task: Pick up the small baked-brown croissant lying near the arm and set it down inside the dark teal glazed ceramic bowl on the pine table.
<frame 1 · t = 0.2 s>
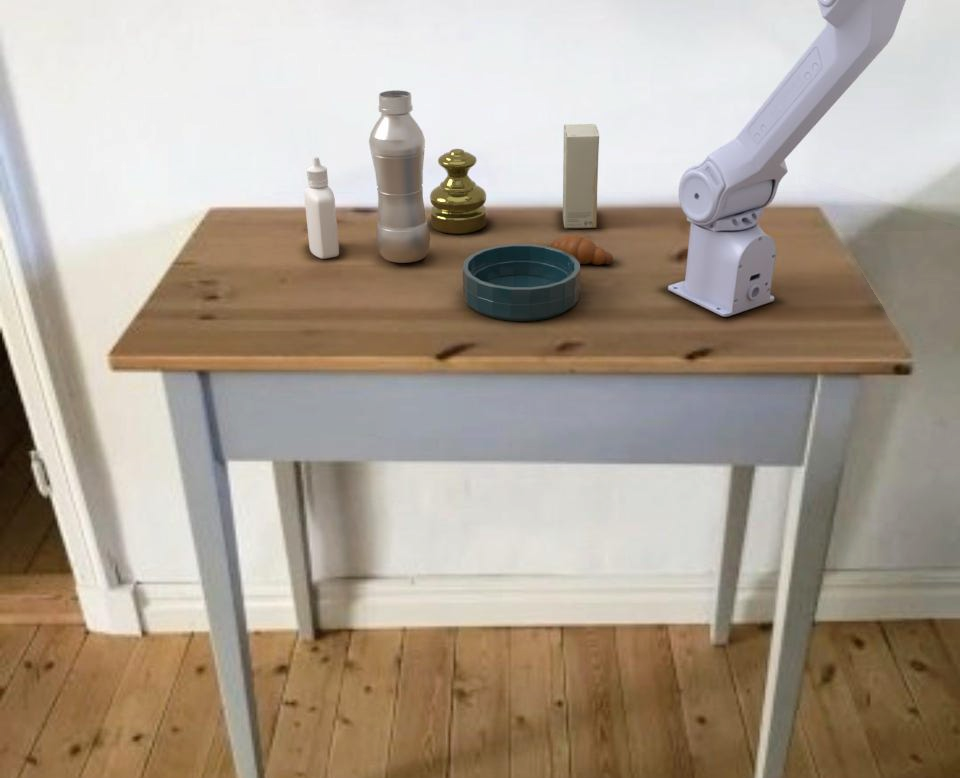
plastic bottle: (404, 260, 133), on the table
bowl: (520, 298, 123), on the table
cosmetic box: (578, 222, 144), on the table
croissant: (576, 261, 132), on the table
eye dropper bottle: (324, 253, 135), on the table
gold tiered knob: (458, 226, 143), on the table
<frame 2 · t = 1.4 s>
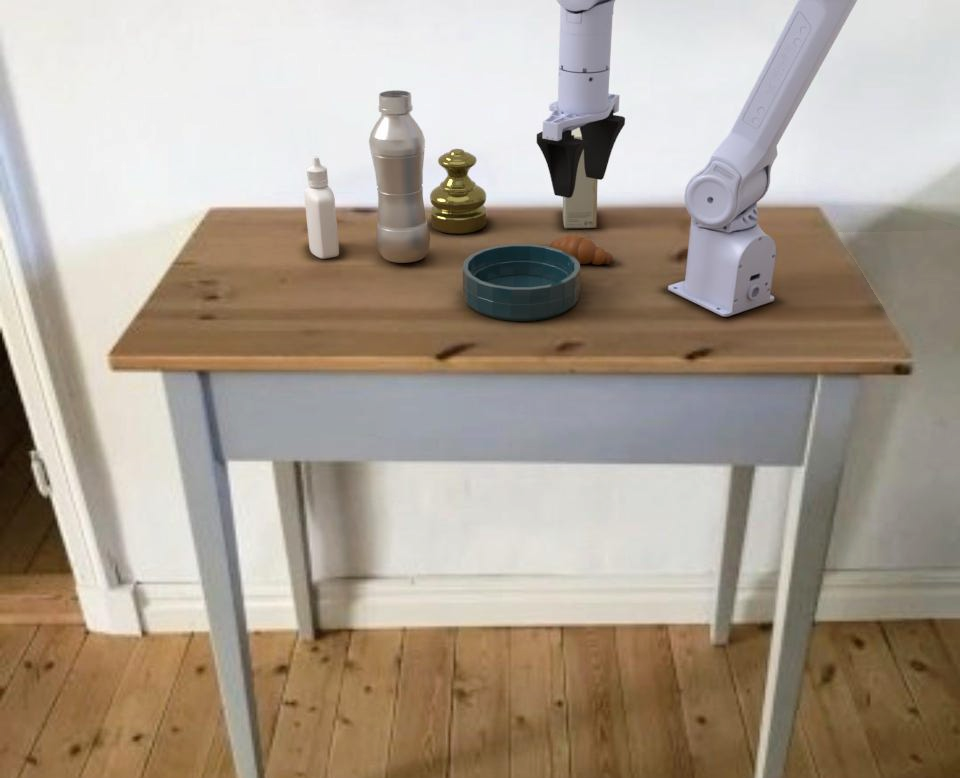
hand: (579, 186, 127), 9 cm above the table, tool pointing down, fingers open, 7 cm apart
nothing on the table moved.
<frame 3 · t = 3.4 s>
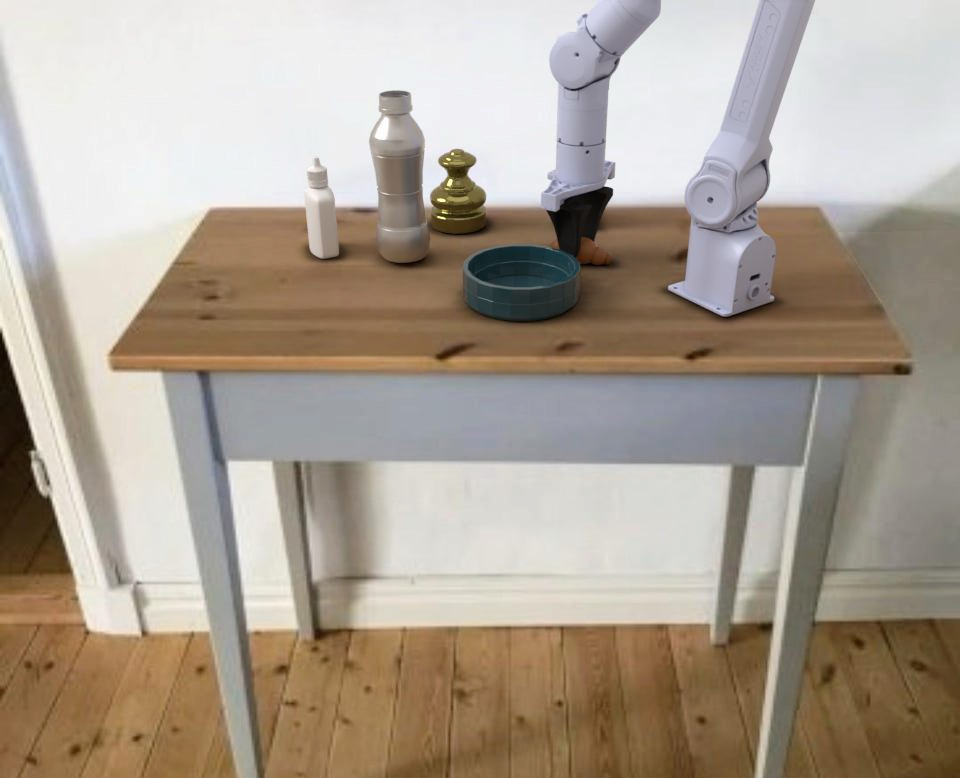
hand: (576, 250, 131), 1 cm above the table, tool pointing down, fingers closed on croissant, 3 cm apart
croissant: (576, 261, 132), on the table, touching gripper
everything else where it was.
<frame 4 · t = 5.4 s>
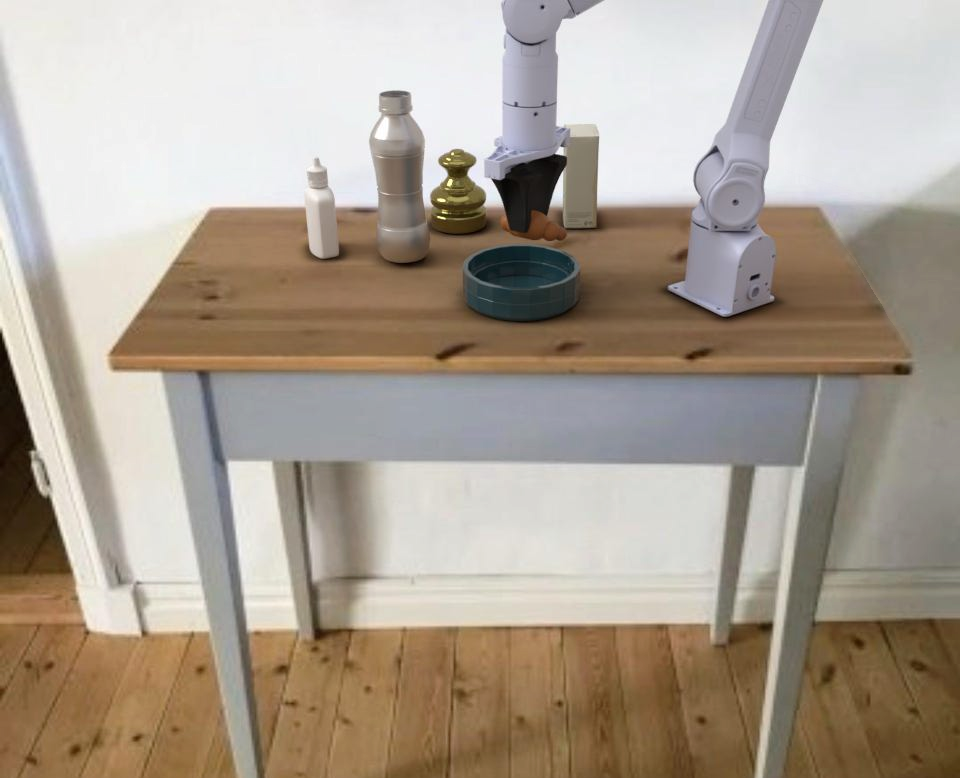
hand: (527, 225, 119), 8 cm above the table, tool pointing down, fingers closed on croissant, 3 cm apart
croissant: (527, 237, 120), point 7 cm above the table, touching gripper
everything else where it was.
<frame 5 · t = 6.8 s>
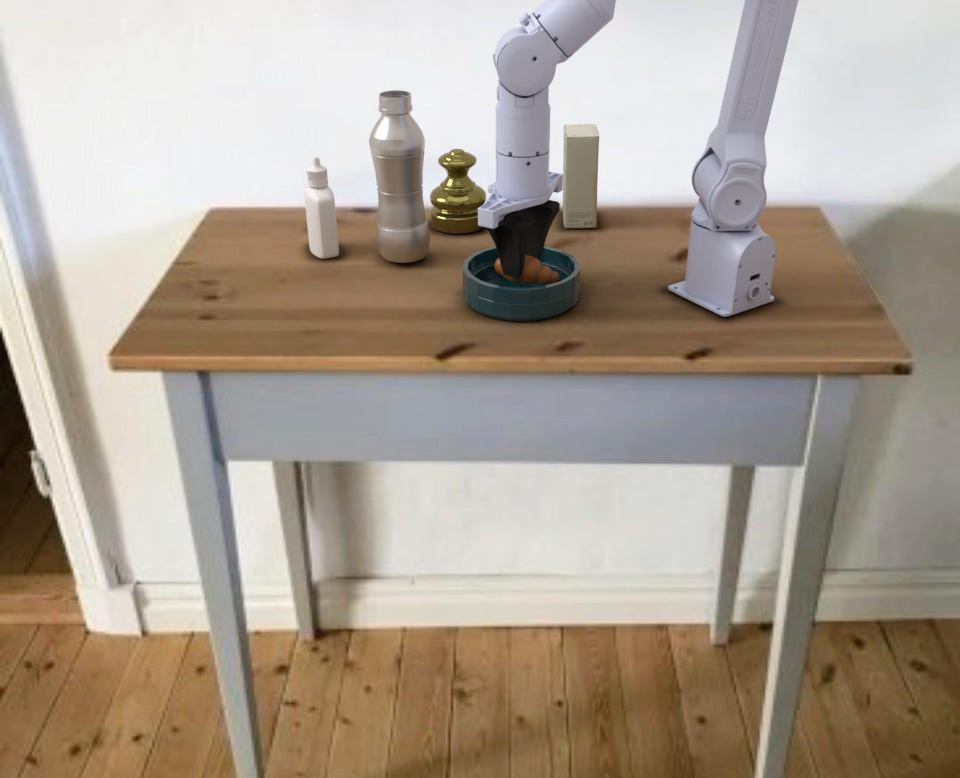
hand: (521, 269, 121), 3 cm above the table, tool pointing down, fingers closed on croissant, 3 cm apart
croissant: (520, 281, 122), point 2 cm above the table, touching gripper
everything else where it was.
when the fingers open (2 cm above the table, at t = 7.7 s): croissant stays where it is, resting on bowl.
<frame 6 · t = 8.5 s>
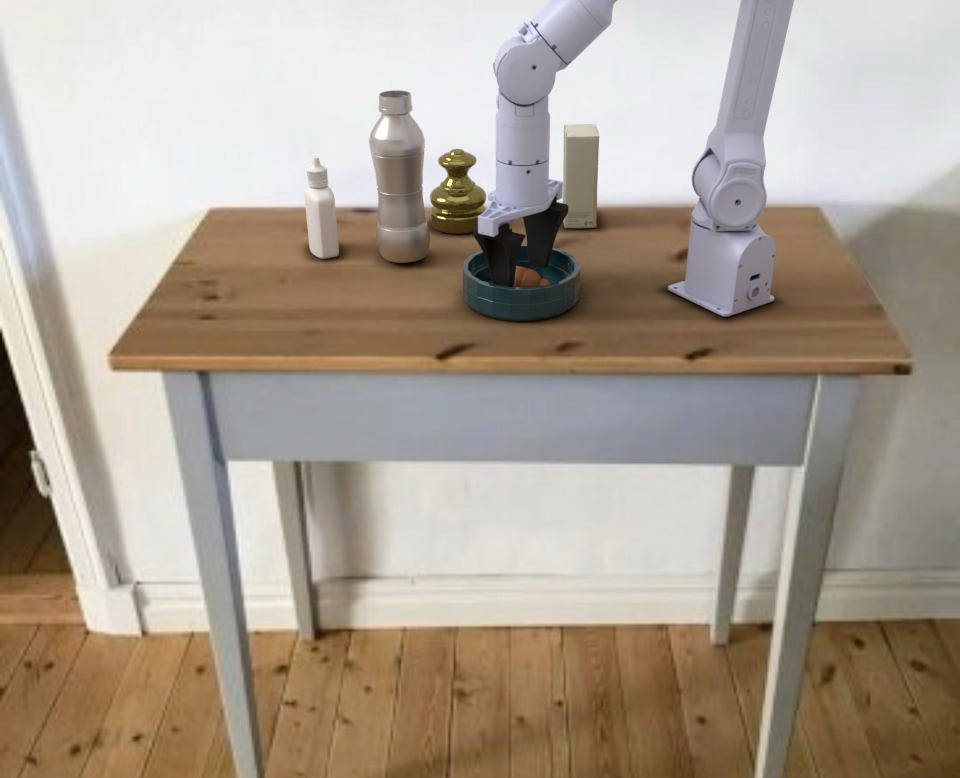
hand: (521, 277, 121), 3 cm above the table, tool pointing down, fingers open, 7 cm apart
croissant: (520, 294, 122), resting on bowl
everything else where it was.
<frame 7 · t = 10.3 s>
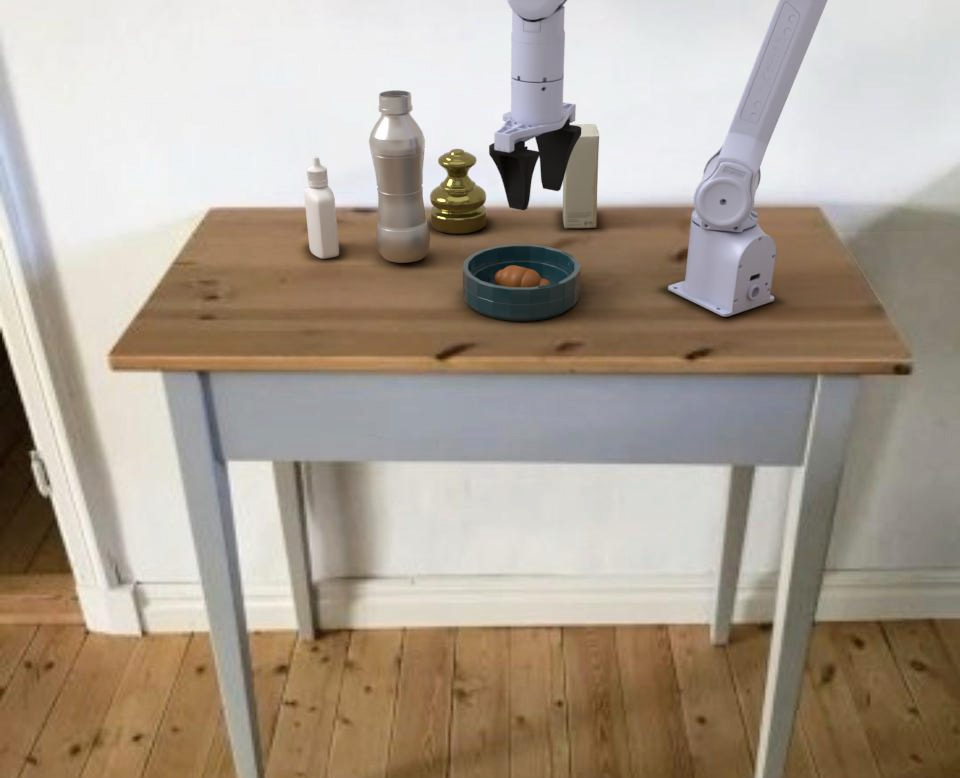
hand: (535, 198, 123), 9 cm above the table, tool pointing down, fingers open, 7 cm apart
nothing on the table moved.
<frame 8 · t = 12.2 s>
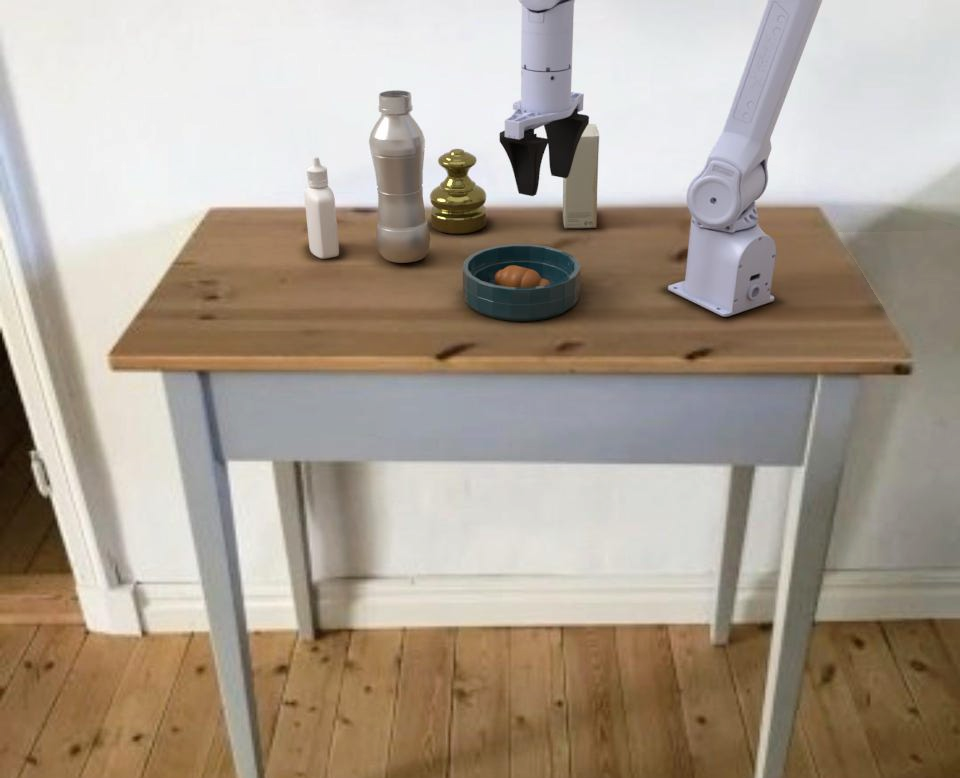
hand: (543, 185, 127), 9 cm above the table, tool pointing down, fingers open, 7 cm apart
nothing on the table moved.
at the end: croissant inside the target area in the bowl (0.1 cm from its centre), point 0.5 cm above the bowl's base; the gripper is holding nothing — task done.
